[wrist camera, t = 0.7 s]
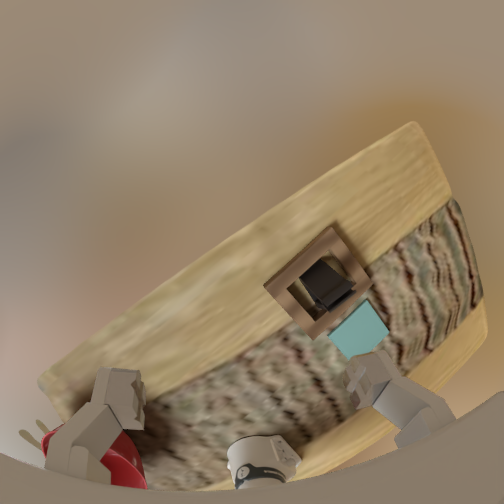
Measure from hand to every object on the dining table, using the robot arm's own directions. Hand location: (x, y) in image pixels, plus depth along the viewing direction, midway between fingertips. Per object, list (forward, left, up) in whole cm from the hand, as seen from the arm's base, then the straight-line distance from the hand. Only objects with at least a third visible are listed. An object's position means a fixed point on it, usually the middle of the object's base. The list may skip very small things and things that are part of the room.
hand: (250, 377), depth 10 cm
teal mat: (-36, -10, -47) cm, 60 cm away
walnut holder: (-19, -10, -47) cm, 51 cm away
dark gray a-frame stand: (-19, -10, -47) cm, 52 cm away
